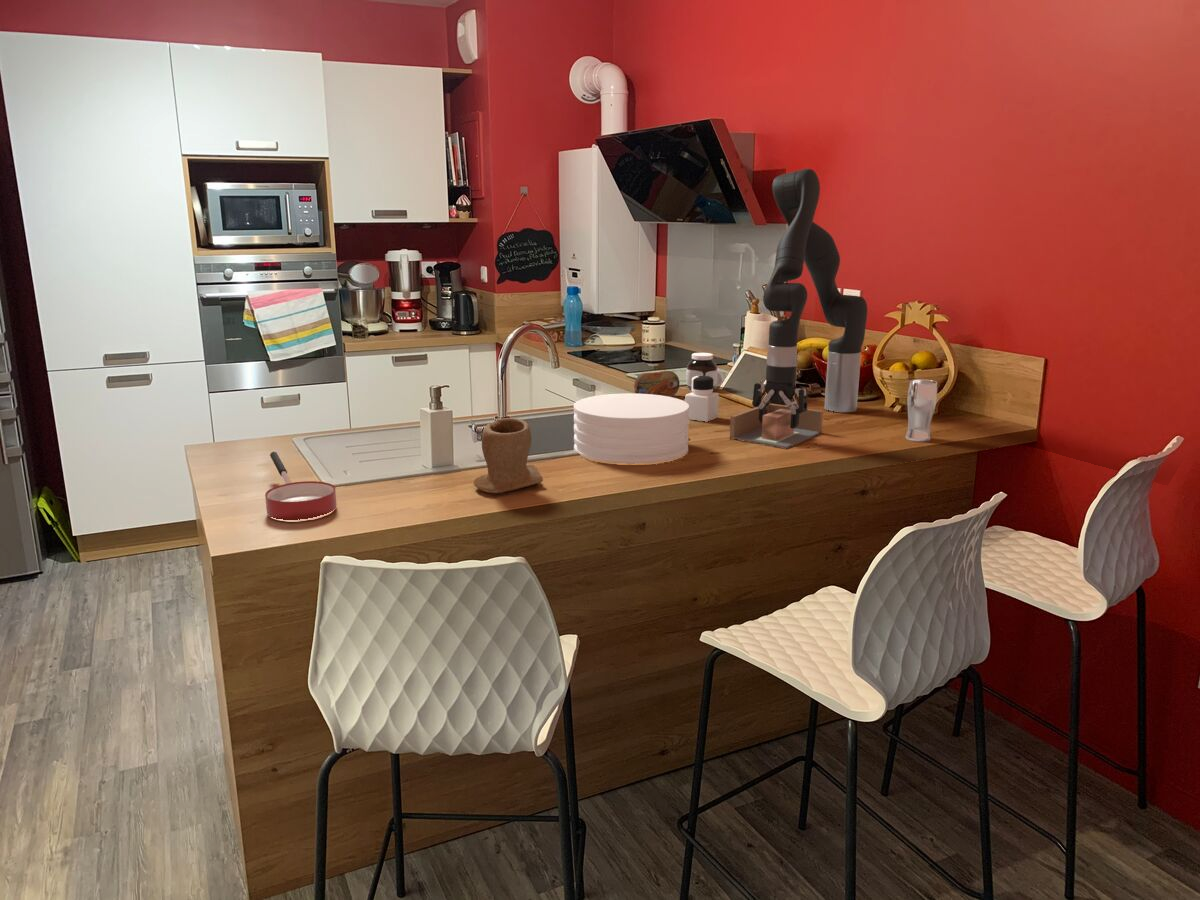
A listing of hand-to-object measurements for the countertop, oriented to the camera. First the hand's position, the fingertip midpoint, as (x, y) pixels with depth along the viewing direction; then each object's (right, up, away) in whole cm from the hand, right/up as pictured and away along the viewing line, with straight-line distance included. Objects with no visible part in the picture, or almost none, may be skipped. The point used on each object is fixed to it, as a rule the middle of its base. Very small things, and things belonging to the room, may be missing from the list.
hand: (778, 425), depth 230 cm
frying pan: (-110, -17, -47) cm, 121 cm away
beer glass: (+36, -4, 0) cm, 36 cm away
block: (0, -3, +1) cm, 3 cm away
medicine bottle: (-17, +2, +23) cm, 29 cm away
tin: (-28, +10, +50) cm, 58 cm away
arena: (0, -3, +3) cm, 4 cm away
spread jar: (-12, +14, +64) cm, 66 cm away
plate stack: (-38, -7, -10) cm, 40 cm away
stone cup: (-65, -15, -40) cm, 77 cm away
